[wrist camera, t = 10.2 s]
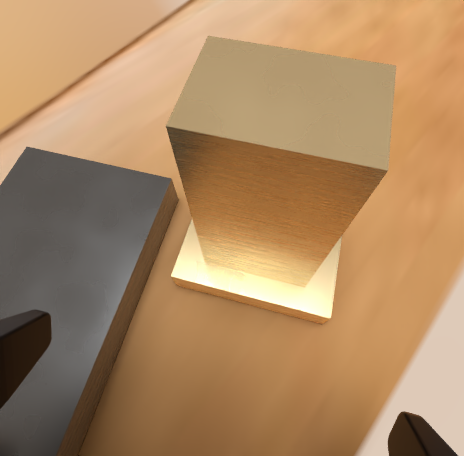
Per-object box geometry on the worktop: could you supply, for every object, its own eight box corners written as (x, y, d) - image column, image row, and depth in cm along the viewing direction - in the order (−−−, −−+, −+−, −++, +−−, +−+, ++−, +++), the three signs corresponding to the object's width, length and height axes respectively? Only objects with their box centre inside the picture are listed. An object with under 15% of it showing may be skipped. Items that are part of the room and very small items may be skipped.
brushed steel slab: (22, 594, 11) (-132, 748, 6) (-168, 513, 12) (-417, 595, 7) (178, 199, 17) (157, 136, 13) (47, 169, 18) (-15, 101, 14)
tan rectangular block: (322, 324, 15) (459, 232, 6) (176, 285, 15) (90, 151, 6) (336, 228, 17) (452, 46, 8) (207, 198, 17) (174, 5, 8)
